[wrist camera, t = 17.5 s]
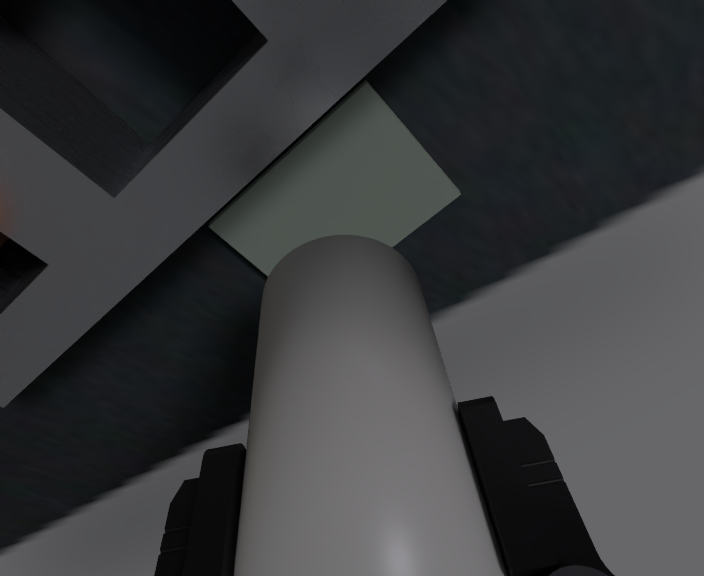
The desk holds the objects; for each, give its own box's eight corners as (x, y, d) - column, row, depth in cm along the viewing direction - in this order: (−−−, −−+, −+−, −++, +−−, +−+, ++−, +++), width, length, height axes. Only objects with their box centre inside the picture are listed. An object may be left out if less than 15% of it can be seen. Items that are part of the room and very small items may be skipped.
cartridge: (226, 247, 15) (101, 815, 6) (419, 206, 15) (621, 732, 5) (278, 385, 18) (251, 912, 9) (439, 353, 18) (595, 861, 8)
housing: (311, -728, 11) (314, -1052, 7) (580, -175, 16) (663, -198, 12) (-241, 150, 19) (-369, 209, 16) (49, 331, 24) (3, 407, 21)
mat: (365, 79, 20) (366, 82, 19) (458, 190, 22) (461, 194, 22) (209, 221, 22) (208, 226, 22) (309, 305, 25) (309, 311, 24)
